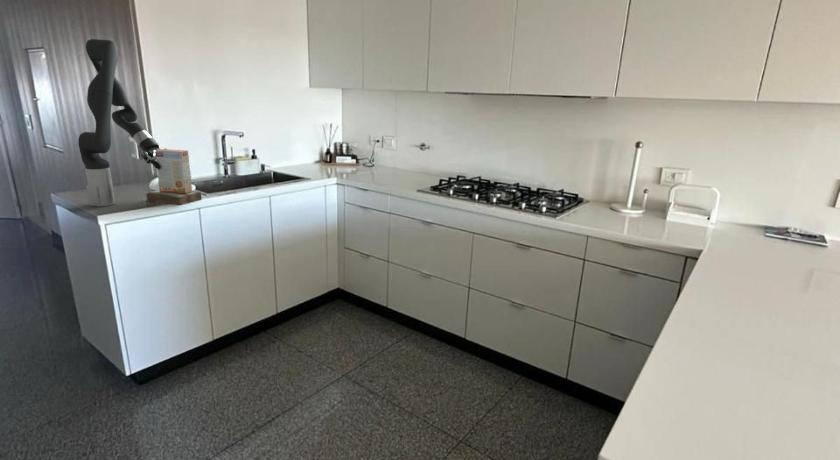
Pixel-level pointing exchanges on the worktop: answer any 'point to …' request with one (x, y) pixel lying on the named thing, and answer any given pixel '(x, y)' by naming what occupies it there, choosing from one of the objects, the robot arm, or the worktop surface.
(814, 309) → the worktop surface
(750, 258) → the worktop surface
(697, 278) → the worktop surface
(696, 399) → the worktop surface
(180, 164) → the cracker box
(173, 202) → the podium
